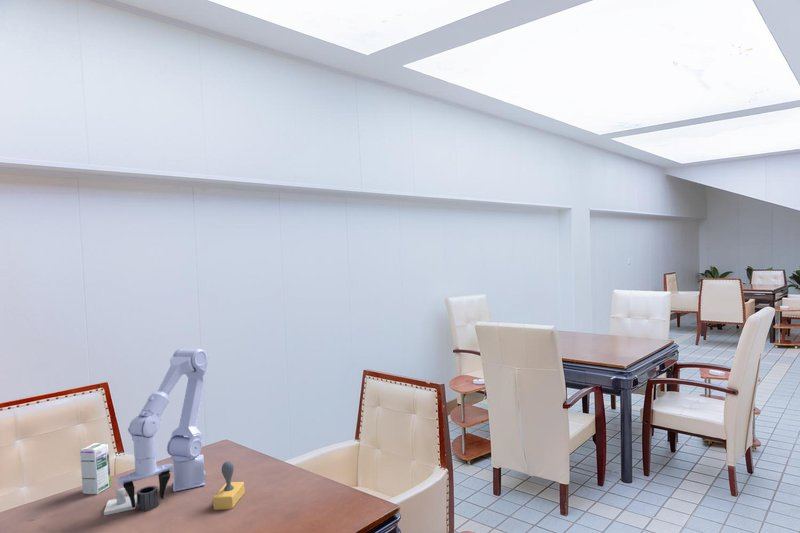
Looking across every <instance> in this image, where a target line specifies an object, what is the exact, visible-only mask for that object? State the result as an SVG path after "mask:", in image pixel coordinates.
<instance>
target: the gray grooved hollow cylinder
mask: <svg viewBox="0 0 800 533" xmlns="http://www.w3.org/2000/svg"><path fill="white" fill-rule="evenodd" d="M158 487H159V486H156V485H148V486H145V487H142V488H139V489H137V491H136V495H137V503H136V505H137V510H138V511H139V512H148V511H151V510H154V509H157V507H159V491H158Z"/></svg>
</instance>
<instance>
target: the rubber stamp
mask: <svg viewBox="0 0 800 533" xmlns="http://www.w3.org/2000/svg"><path fill="white" fill-rule="evenodd" d="M234 469H235V466H234V463H233V462H232V461H229V460H227V461H225V462H224V463H223V464H222V466H221V473H222V476H223V478H224V480H225V484H224V485H223V486H222V487H221V488H220V489H219V491H217V493H216V494H215V495H214V496H213V498H212V501H213V502H212V504H213V510H217V511H218V510H232V509H233V508H234V507H235V505H236V504H237V503H238V502H239V501H240V499H241V498H242V497H243V496H244V495H245V493H246V492H245V482H244V481H232V477H233V474H234V471H235V470H234Z"/></svg>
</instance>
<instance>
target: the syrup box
mask: <svg viewBox="0 0 800 533" xmlns="http://www.w3.org/2000/svg"><path fill="white" fill-rule="evenodd" d="M109 452H110V451H109V443H108V442H107V443H106V442H97V443H96V442H94V443H92V444H90V445H88V446H86V447H84V448H81V449H79V457H80V470H81V471H80V472H81V483H82V484H81V485H82V493H83V494H85V495H99V494H100V493H102V492H103V491H105V490H107V489H109V488H110V487H112V480H111V467H110V466H111V465H110V464H111V463H110V454H109Z"/></svg>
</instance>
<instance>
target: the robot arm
mask: <svg viewBox="0 0 800 533" xmlns="http://www.w3.org/2000/svg"><path fill="white" fill-rule="evenodd" d="M208 362H209V356H208V354H207V352H206V351H205V350H204V349H202V348H197V349H196V348H195V349H194V348H193V349H191V348H178V349H176V350H175V351H174V352H173V354H172V356H171V358H170V359H169V363H170V364H169V365H170V366H169V367H168V370H167V371H166V374H165V376H164V377H163V380H162V382H161V384H160V386H159V387H158V390H157V391H155V392H152V393H151V394H150V395H149V396H148V397H147V401H146V402H145V404H144V406H143V407H142V409H141V411H140V412H139V414H138V415H137V416H135V417H133V419H132V420H131V421H130V423H129V426H128V428H127V431H128V433H129V435H130V436H131V440H132V441H133V453H134V457H133V458H134V469H135V470H134V471H133V472H130V473H127V474H124V475H123V476H119V477H117V479H118V480H117V484H118V487H122V486H123V488H125V492H126V493H127V494H128V495H127V496H129V497H130V500H131V505H132V507H133V508H134V507H135V497H134V495H135V487H136V486H135V485H134V482H136V481H140V480H145V479H147V478H151V477H155V476H158V483H159V486H158V487H159V491H158V495H159V497H160V499H161V500H162V499H164V498H165V492H166V488H167V485H168V483H169V481H170V478H171V473H172V472H173V483H172V484H173V485H172V492H175V493H176V492H179V491H184V490H189V489H193V488H198V487H203V486H205V485H206V480H205V479H206V470H205V463H204V462H205V460H204V459H205V458H204V454H201V451H202V449H203V442H202V437H203V434H202V432H201V431H200V430H199V428H198V423H199V422H198V421H199V417H200V416H199V415H200V411H201V406H202V402H203V401H202V400H203V395H204V389H205V386H206V385H205V384H206V379H207V367H208ZM183 375H185V376H186V377H187V384H186V389H185V395H184V398H183V403H182V409H181V413H180V414H181V415H180V419H179V425H178V426H177V428H175V429H174V430H173V431H172V432H171V436H170V439H169V441H168V442H167V445H166V452H167V454H168V455H169V456H171V457H170V458H171V460H173V461H172V462H173V463H171V462H170V463H167V464H159V465H157V449H156V448H157V447H156V433H157V432H158V431H159V428H160V422H161V417H162V415H163V413H164V411H165V410H166V408H167V406H168V404H169V403H170V399H169V398H170V397H169V395H170V393H171V392H172V391H173V389H174V388H175V386H176V385H177V383H178V382H179V380H180V379H181V377H182V376H183ZM135 508H136V507H135Z"/></svg>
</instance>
